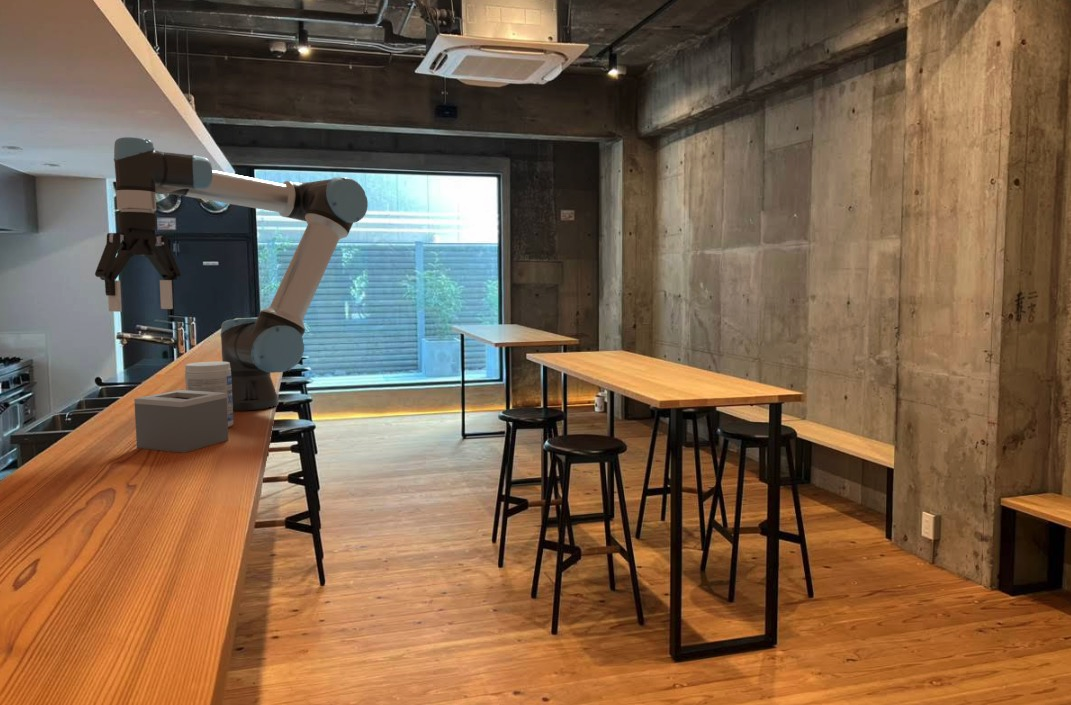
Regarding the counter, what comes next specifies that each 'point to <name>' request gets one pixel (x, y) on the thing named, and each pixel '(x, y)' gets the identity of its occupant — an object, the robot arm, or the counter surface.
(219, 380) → the supplement tub
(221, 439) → the box
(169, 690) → the counter surface
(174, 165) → the robot arm
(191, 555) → the counter surface
